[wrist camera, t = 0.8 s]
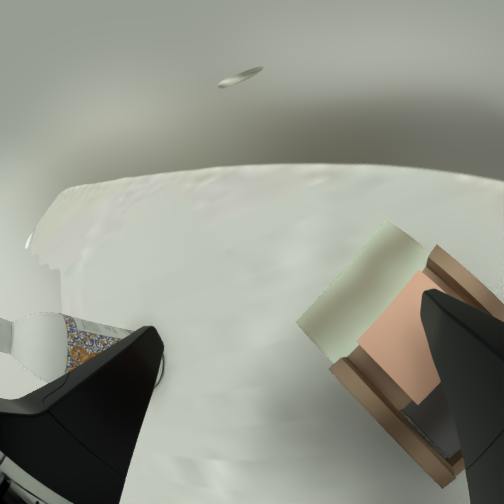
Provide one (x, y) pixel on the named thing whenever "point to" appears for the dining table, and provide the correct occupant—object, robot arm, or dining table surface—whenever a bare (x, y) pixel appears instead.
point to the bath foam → (56, 342)
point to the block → (404, 341)
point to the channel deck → (366, 313)
